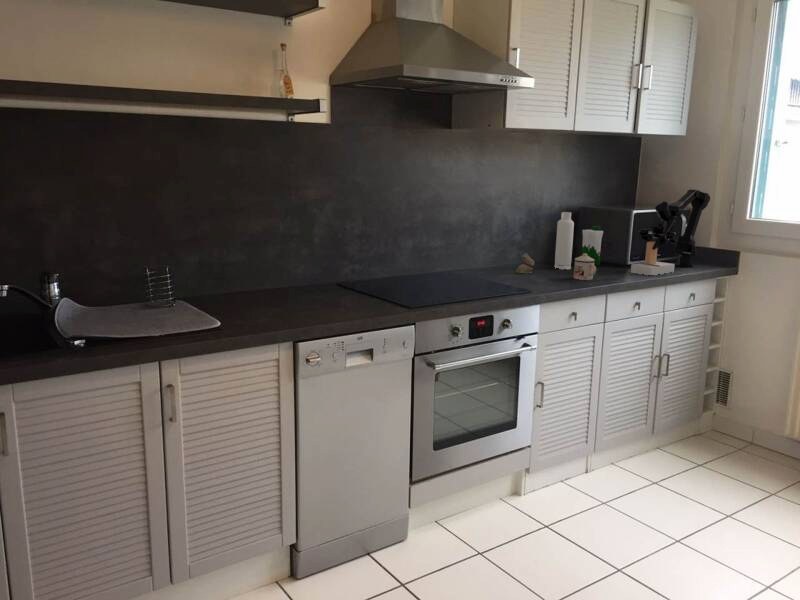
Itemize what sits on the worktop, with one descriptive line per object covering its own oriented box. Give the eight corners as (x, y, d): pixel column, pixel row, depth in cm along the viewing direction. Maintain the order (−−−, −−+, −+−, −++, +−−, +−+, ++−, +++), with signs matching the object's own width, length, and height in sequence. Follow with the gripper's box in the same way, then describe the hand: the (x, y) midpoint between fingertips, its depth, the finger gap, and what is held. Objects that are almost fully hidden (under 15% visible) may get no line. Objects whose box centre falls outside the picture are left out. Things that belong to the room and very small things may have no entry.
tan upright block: (651, 263, 323) (653, 241, 321) (656, 263, 321) (658, 241, 319) (644, 264, 320) (646, 242, 317) (649, 265, 318) (651, 242, 315)
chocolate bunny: (530, 275, 307) (531, 254, 305) (514, 273, 312) (515, 252, 309) (534, 273, 312) (535, 252, 310) (519, 271, 316) (520, 251, 314)
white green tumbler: (602, 265, 338) (605, 227, 334) (587, 266, 335) (590, 227, 331) (592, 263, 346) (595, 225, 342) (577, 263, 344) (580, 225, 339)
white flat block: (653, 268, 330) (654, 260, 329) (673, 272, 322) (674, 263, 321) (630, 272, 318) (631, 263, 317) (650, 276, 310) (651, 266, 309)
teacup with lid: (568, 277, 302) (570, 252, 300) (583, 276, 306) (585, 251, 304) (586, 282, 292) (588, 256, 289) (602, 280, 296) (604, 255, 293)
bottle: (573, 269, 325) (577, 213, 319) (558, 269, 324) (562, 213, 318) (566, 266, 333) (570, 211, 327) (551, 267, 331) (555, 211, 325)
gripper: (642, 212, 325) (627, 236, 321) (677, 215, 310) (662, 240, 306) (650, 227, 331) (635, 250, 327) (684, 231, 317) (669, 255, 312)
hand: (650, 249), depth 318 cm, fingers closed on tan upright block, 2 cm apart
